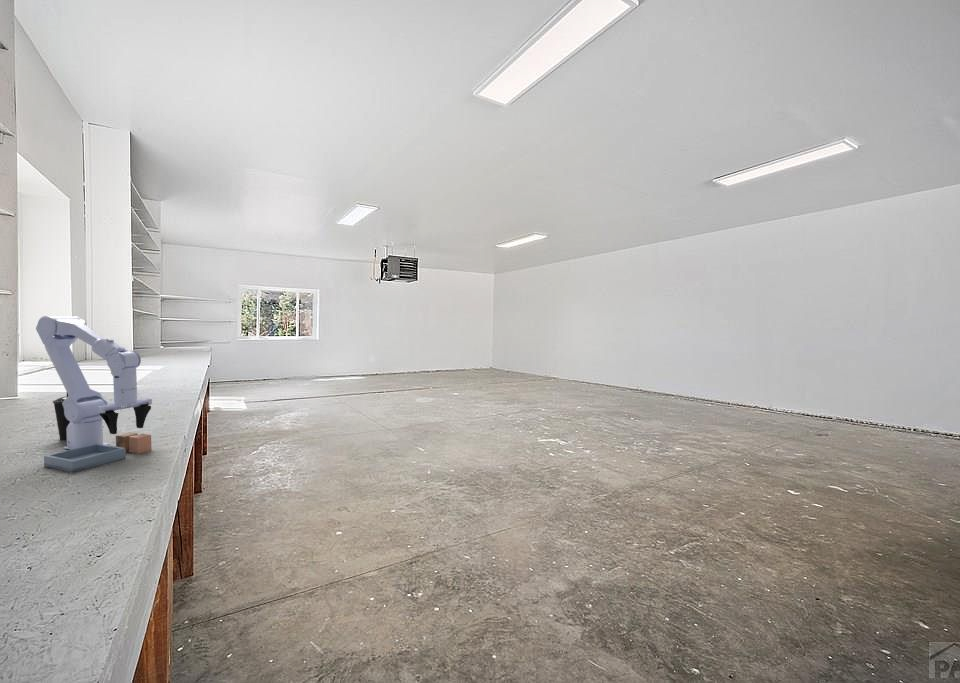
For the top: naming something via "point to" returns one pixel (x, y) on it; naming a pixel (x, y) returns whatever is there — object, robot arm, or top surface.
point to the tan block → (124, 440)
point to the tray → (84, 457)
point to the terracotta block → (140, 443)
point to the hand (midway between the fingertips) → (126, 430)
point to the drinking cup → (61, 418)
